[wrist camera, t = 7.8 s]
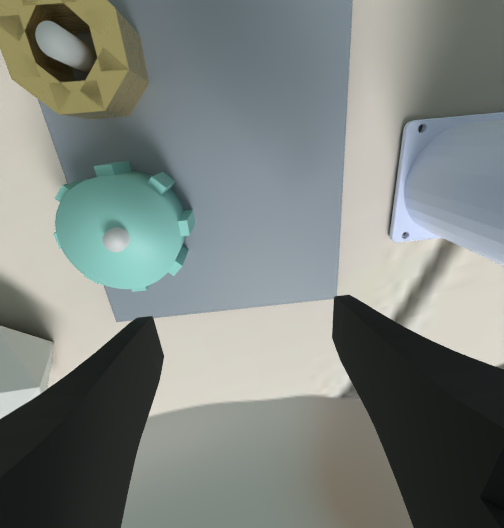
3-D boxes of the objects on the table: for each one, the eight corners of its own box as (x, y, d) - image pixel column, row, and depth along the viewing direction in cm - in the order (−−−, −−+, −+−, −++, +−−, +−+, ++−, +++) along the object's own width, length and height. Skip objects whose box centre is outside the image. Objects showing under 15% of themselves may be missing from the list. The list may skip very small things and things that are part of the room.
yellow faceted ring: (132, -3, 13) (104, -42, 10) (155, 114, 15) (137, 107, 12) (27, 5, 13) (-30, -33, 10) (65, 121, 15) (26, 117, 12)
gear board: (347, -49, 14) (400, -136, 10) (332, 291, 22) (356, 329, 18) (3, -23, 13) (-107, -101, 9) (118, 314, 22) (90, 358, 17)
